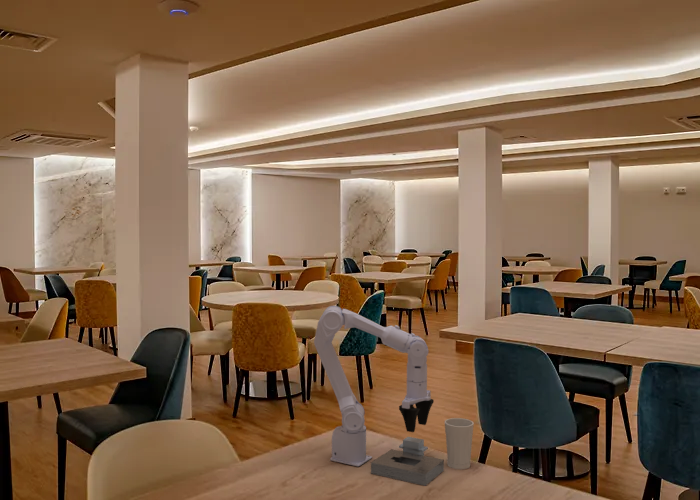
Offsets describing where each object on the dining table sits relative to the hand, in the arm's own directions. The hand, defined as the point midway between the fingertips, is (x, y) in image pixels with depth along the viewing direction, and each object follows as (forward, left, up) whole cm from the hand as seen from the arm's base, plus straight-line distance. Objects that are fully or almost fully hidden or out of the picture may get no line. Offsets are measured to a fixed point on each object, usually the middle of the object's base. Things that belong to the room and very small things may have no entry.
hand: (416, 427), depth 177 cm
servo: (-1, +1, -10) cm, 10 cm away
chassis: (+2, -9, -9) cm, 13 cm away
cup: (+12, +3, -10) cm, 15 cm away
